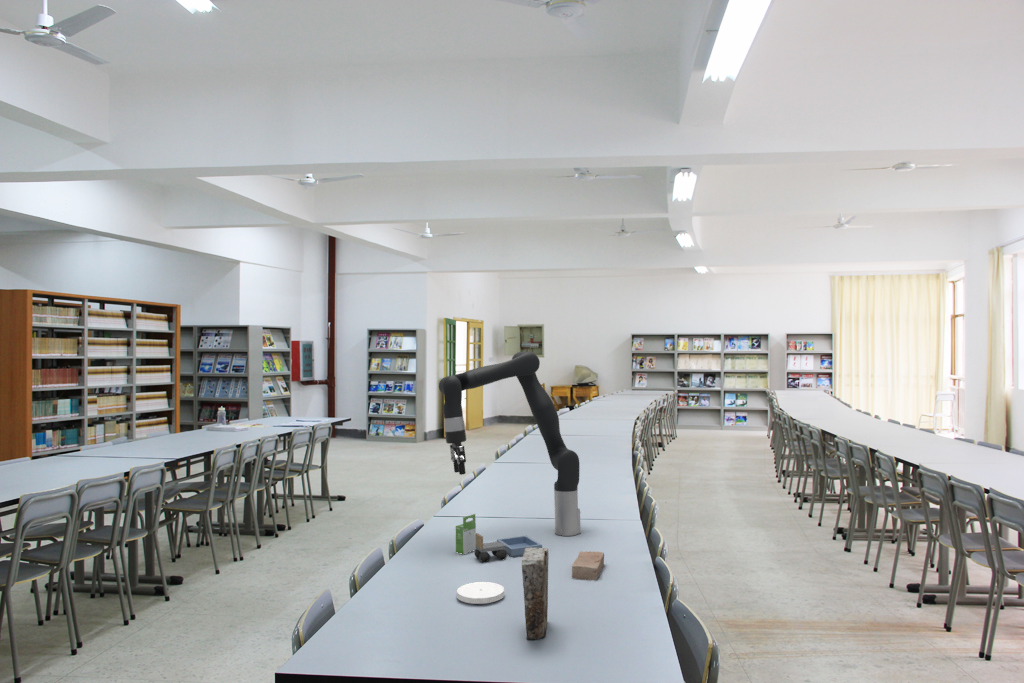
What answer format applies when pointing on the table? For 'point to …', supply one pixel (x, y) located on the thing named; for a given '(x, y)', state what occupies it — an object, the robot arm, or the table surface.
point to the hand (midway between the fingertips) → (460, 473)
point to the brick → (588, 565)
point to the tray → (518, 545)
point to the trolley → (489, 549)
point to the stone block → (535, 591)
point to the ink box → (466, 535)
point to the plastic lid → (480, 592)
